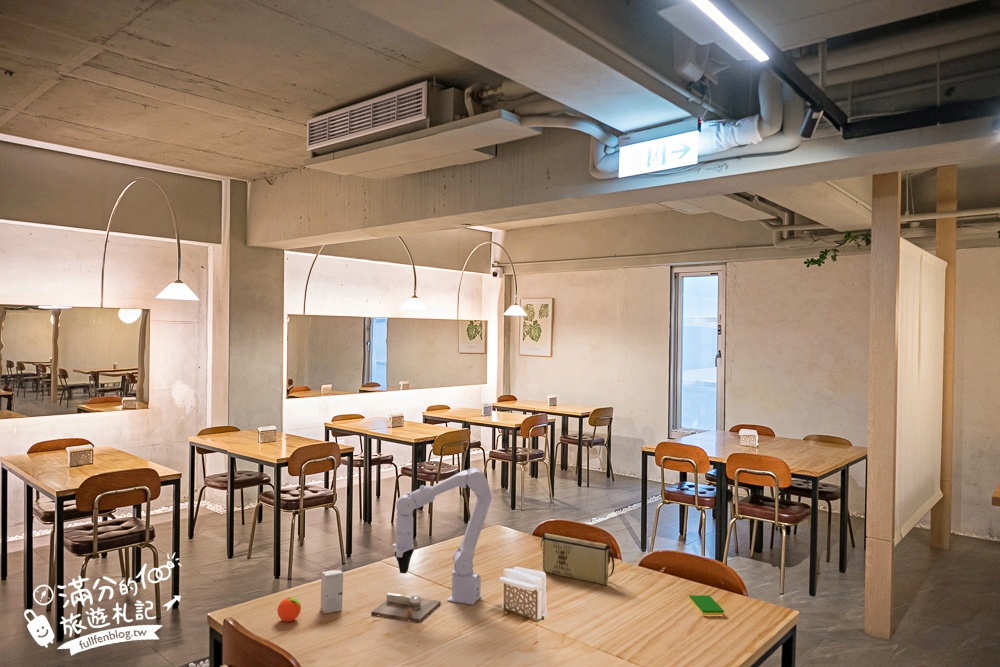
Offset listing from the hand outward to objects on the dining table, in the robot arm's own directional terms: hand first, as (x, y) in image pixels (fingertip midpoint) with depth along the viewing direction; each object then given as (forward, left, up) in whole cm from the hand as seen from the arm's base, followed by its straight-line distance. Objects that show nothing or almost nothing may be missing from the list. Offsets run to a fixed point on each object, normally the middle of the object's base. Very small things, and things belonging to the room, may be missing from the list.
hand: (403, 572), depth 225 cm
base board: (-4, +7, -9) cm, 12 cm away
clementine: (+25, +28, -10) cm, 38 cm away
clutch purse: (-50, -44, -10) cm, 68 cm away
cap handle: (-3, +5, -8) cm, 10 cm away
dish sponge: (-97, -29, -10) cm, 102 cm away
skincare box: (+18, +16, -10) cm, 26 cm away
